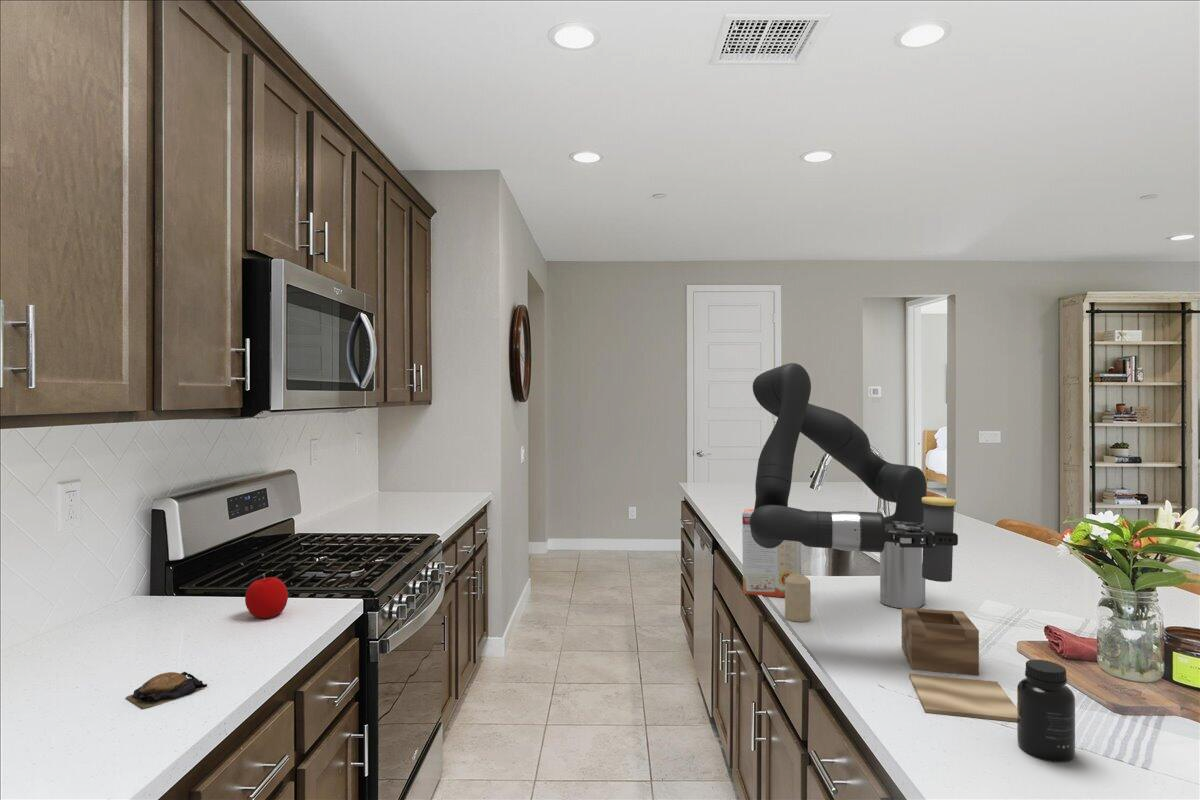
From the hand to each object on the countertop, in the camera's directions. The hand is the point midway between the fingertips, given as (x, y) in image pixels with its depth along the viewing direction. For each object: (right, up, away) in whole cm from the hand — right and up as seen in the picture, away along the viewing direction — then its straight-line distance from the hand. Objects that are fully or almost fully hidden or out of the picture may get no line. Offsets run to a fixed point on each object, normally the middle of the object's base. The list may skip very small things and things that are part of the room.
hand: (953, 536), depth 126 cm
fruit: (-142, -25, +30) cm, 147 cm away
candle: (-21, -24, +26) cm, 42 cm away
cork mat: (-6, -24, -14) cm, 28 cm away
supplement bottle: (-3, -24, -31) cm, 39 cm away
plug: (-3, -8, +1) cm, 8 cm away
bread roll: (-139, -25, -10) cm, 142 cm away
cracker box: (-22, -24, +45) cm, 56 cm away
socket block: (-2, -24, +2) cm, 24 cm away
